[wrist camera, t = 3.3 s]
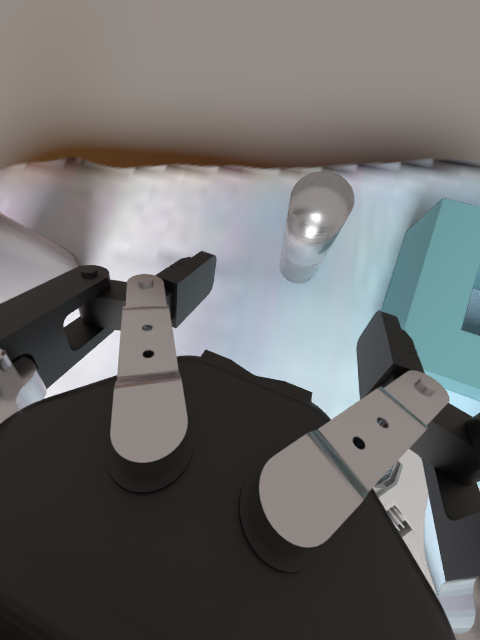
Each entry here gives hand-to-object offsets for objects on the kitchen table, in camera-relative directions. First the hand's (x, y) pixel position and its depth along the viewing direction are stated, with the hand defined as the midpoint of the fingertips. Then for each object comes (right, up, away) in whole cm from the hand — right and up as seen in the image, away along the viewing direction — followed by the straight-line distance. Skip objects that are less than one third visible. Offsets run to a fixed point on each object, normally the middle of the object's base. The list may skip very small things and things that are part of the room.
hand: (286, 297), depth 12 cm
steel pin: (+3, +4, +12) cm, 13 cm away
